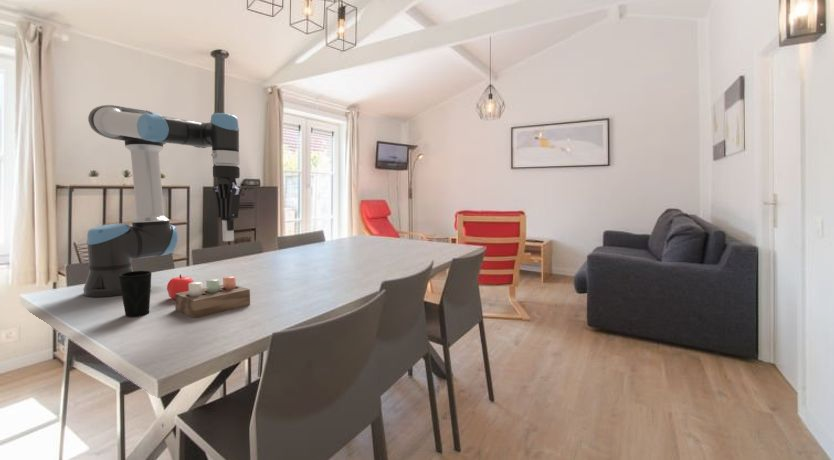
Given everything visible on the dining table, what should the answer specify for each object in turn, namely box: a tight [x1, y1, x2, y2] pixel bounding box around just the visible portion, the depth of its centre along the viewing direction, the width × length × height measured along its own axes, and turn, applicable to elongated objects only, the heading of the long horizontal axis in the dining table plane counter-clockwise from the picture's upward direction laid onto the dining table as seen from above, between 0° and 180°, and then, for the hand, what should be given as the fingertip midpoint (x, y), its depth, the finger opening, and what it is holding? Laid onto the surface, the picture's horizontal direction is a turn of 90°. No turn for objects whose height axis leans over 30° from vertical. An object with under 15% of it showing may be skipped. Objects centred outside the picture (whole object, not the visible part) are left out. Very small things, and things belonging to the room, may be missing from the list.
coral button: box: [222, 275, 237, 291], centre depth 124 cm, size 4×4×4 cm
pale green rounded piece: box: [205, 278, 221, 294], centre depth 120 cm, size 4×4×4 cm
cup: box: [119, 270, 152, 318], centre depth 112 cm, size 8×8×12 cm
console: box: [174, 284, 251, 319], centre depth 120 cm, size 12×17×5 cm
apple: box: [166, 274, 195, 300], centre depth 130 cm, size 8×8×8 cm
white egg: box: [188, 281, 203, 298], centre depth 116 cm, size 4×4×4 cm
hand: (228, 240), depth 123 cm, fingers closed
